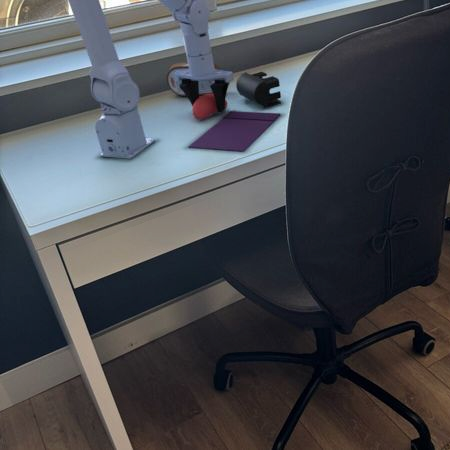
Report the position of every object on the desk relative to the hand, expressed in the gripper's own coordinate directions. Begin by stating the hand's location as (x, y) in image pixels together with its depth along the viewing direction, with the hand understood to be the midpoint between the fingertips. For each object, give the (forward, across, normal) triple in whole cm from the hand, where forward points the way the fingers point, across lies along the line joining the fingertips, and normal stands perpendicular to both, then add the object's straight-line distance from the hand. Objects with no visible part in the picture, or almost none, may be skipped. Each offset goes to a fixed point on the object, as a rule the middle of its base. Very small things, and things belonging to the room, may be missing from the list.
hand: (209, 110), depth 135 cm
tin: (+1, +11, -13) cm, 17 cm away
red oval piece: (+1, 0, 0) cm, 1 cm away
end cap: (+1, -9, -9) cm, 13 cm away
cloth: (+1, -11, +8) cm, 14 cm away
